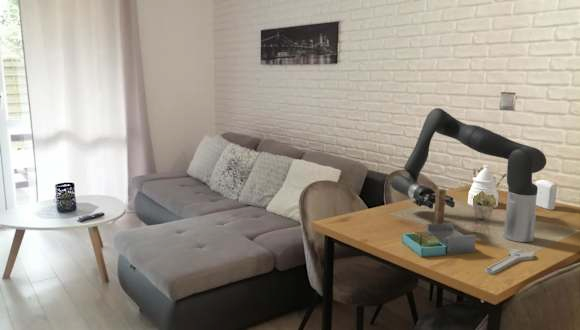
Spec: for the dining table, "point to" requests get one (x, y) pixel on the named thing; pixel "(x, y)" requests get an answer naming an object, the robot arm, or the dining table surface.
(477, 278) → the dining table surface
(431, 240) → the brass block
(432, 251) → the tray
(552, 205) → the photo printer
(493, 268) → the adjustable wrench
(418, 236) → the brass block
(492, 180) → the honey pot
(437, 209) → the wooden post on base
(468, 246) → the rail channel
